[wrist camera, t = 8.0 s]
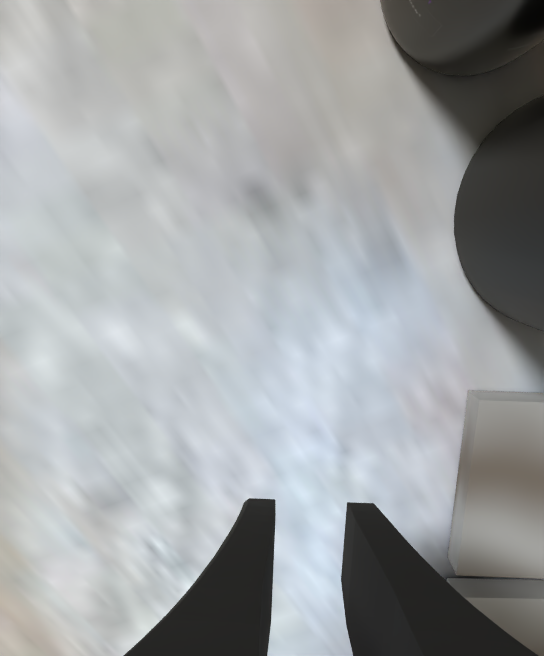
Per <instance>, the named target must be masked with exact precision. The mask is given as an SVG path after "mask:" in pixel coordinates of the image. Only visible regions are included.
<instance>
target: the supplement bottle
mask: <svg viewBox="0 0 544 656" xmlns="http://www.w3.org/2000/svg"><path fill="white" fill-rule="evenodd" d="M380 2H381V7H382V11H383V14H384V18H385V20H386V23H387V25H388V27H389V29H390V31H391V33H392V35H393V37H394V38H395V40H396V41H397V43H398V44H399V45H400V46H401V48H402V49H403V50H404V51H405V52H406V53H407V54H408V55H409V56H410V57H411V58H413V59H414V60H415V61H416V62H418V63H420V64H421V65H423V66H425V67H427V68H429V69H431V70H433V71H436V72H439V73H443V74H448V75H457V76H467V75H476V74H481V73H485V72H488V71H491V70H494V69H496V68H499V67H501V66H503V65H505V64H507V63H509V62H511V61H512V60H514V59H516V58H517V57H519V56H520V55H522V54H524V53H525V52H527V51H528V50H530V49H531V48H533V47H534V46H536V45H537V44H539V43H540V42H542V41H543V40H544V0H380Z"/></svg>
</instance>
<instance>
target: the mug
mask: <svg viewBox="0 0 544 656" xmlns="http://www.w3.org/2000/svg"><path fill="white" fill-rule="evenodd" d="M454 235H455V241H456V247H457V252H458V255H459V258H460V261H461V264H462V268H463V269H464V271H465V273H466V275H467V277H468V279H469V281H470V282H471V284H472V285H473V287H474V288H475V289H476V291H477V292H478V293H479V294H480V296H481V297H482V298H483V299H484V300H485V301H487V302H488V303H489V304H490V305H491V306H492V307H493V308H495V309H496V310H498V311H499V312H501V313H502V314H504V315H505V316H507V317H509V318H511V319H514V320H516V321H518V322H521V323H523V324H526V325H528V326H531V327H534V328H536V329H539V330H541V331H544V95H542V96H540V97H538V98H536V99H534V100H532V101H530V102H529V103H527V104H526V105H524V106H522V107H521V108H519V109H517V110H516V111H515V112H513V113H512V114H510V115H509V116H508V117H507V118H506V119H504V120H503V121H502V122H501V123H500V124H498V125H497V126H496V127H495V129H494V130H493V131H492V132H491V133H490V134H489V135H488V136H487V138H486V139H485V140H484V141H483V143H482V144H481V145H480V147H479V148H478V150H477V151H476V153H475V154H474V156H473V157H472V159H471V161H470V163H469V165H468V167H467V169H466V171H465V174H464V176H463V179H462V182H461V185H460V188H459V191H458V194H457V200H456V206H455V215H454Z"/></svg>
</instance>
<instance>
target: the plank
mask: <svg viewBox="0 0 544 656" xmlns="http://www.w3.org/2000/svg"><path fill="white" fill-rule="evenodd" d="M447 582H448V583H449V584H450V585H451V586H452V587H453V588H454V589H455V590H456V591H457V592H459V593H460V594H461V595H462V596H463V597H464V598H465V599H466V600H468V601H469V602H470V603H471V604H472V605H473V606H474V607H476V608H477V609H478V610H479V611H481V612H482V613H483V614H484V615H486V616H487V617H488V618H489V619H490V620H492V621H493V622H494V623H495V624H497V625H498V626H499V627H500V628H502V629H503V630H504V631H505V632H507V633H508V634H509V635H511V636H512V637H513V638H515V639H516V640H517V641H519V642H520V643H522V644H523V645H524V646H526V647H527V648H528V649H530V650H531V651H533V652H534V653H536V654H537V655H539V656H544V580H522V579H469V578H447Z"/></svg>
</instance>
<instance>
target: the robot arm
mask: <svg viewBox="0 0 544 656" xmlns="http://www.w3.org/2000/svg"><path fill="white" fill-rule="evenodd" d="M274 536H275V500H274V499H248V500H247V501H246V502H244V504H243V507H242V510H241V512H240V514H239V516H238V518H237V520H236V522H235V524H234V525H233V527H232V529H231V531H230V532H229V534H228V536H227V537H226V539H225V540H224V542H223V544H222V545H221V547H220V548H219V550H218V551H217V553H216V554H215V556H214V557H213V559H212V560H211V561H210V563H209V564H208V565H207V567H206V568H205V569H204V571H203V572H202V573H201V575H200V576H199V577H198V579H197V580H196V581H195V583H194V584H193V585H192V586H191V588H190V589H189V590H188V591H187V592H186V594H185V595H184V596H183V597H182V598H181V599H180V600H179V602H178V603H177V604H176V605H175V606H174V607H173V608H172V609H171V610H170V611H169V613H168V614H167V615H166V616H165V617H164V618H163V619H162V620H161V621H160V622H159V623H158V624H157V625H156V626H155V627H154V628H153V629H152V630H151V631H150V632H149V633H148V634H147V635H146V636H145V637H144V638H142V639H141V640H140V641H139V642H138V643H137V644H136V645H135V646H134V647H133V648H132V649H131V650H129V651H128V652H127V653H126V654H125V655H124V656H267V652H268V643H269V634H270V626H271V608H272V584H273V560H274ZM341 582H342V591H343V600H344V608H345V617H346V625H347V629H348V634H349V638H350V643H351V647H352V652H353V656H539V655H537V654H536V653H534V652H533V651H531V650H530V649H528V648H527V647H526V646H524V645H523V644H522V643H520V642H519V641H517V640H516V639H515V638H513V637H512V636H511V635H509V634H508V633H507V632H505V631H504V630H503V629H502V628H500V627H499V626H498V625H497V624H495V623H494V622H493V621H492V620H490V619H489V618H488V617H487V616H486V615H484V614H483V613H482V612H481V611H479V610H478V609H477V608H476V607H474V606H473V605H472V604H471V603H470V602H469V601H468V600H466V599H465V598H464V597H463V596H462V595H461V594H460V593H459V592H457V591H456V590H455V589H454V588H453V587H452V586H451V585H450V584H449V583H448V582H447V581H446V580H445V579H444V578H442V577H441V576H440V575H439V574H438V573H437V572H436V571H435V570H434V569H433V568H432V567H431V566H430V565H429V564H428V563H427V562H426V561H425V560H424V559H423V558H422V557H421V556H420V555H419V553H418V552H417V551H416V550H415V549H414V548H413V547H412V546H411V545H410V544H409V543H408V542H407V541H406V539H405V538H404V537H403V536H402V535H401V534H400V533H399V532H398V530H397V529H396V528H395V527H394V526H393V525H392V524H391V522H390V521H389V520H388V519H387V518H386V517H385V516H384V515H383V513H382V512H381V511H380V510H379V509H378V508H377V507H376V505H375V504H374V503H349V502H347V512H346V524H345V537H344V550H343V563H342V576H341Z"/></svg>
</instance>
